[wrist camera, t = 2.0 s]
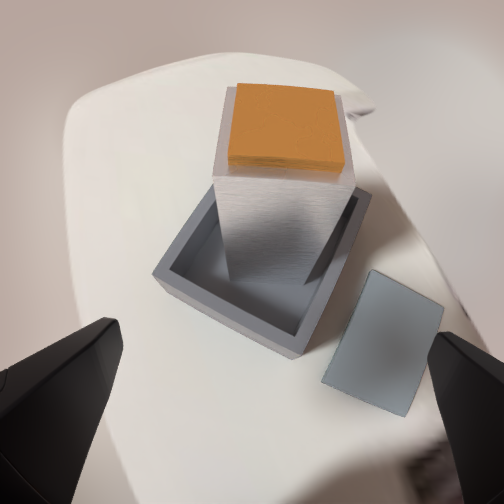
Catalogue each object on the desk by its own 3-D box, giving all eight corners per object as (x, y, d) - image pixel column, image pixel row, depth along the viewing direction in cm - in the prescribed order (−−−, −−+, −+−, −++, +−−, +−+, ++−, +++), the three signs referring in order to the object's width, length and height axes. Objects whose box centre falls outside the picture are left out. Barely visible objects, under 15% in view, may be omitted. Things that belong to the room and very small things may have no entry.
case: (292, 360, 21) (301, 355, 17) (166, 291, 23) (151, 274, 19) (356, 221, 25) (372, 194, 21) (246, 170, 27) (246, 138, 23)
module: (303, 285, 22) (360, 176, 10) (229, 281, 22) (210, 165, 10) (302, 220, 24) (343, 85, 12) (235, 216, 24) (226, 76, 12)
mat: (401, 416, 19) (404, 417, 19) (320, 381, 20) (322, 381, 20) (441, 309, 22) (444, 307, 22) (369, 271, 23) (371, 269, 23)
